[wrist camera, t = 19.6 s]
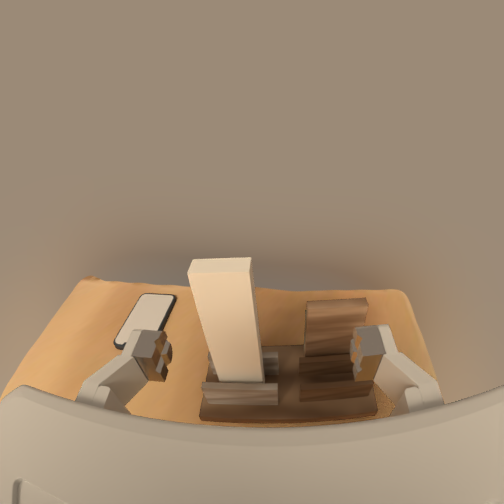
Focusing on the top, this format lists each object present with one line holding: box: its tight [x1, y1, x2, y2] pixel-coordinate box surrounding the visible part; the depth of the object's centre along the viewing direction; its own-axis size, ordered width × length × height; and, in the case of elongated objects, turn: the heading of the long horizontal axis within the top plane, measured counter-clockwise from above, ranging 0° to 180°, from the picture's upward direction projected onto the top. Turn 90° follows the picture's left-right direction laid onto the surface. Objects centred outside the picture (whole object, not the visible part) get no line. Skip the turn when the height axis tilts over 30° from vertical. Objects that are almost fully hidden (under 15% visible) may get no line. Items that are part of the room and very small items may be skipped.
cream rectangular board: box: [187, 257, 265, 383], centre depth 35 cm, size 2×6×22 cm, turn 86°
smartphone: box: [114, 293, 176, 350], centre depth 56 cm, size 9×2×16 cm
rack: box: [199, 345, 378, 423], centre depth 40 cm, size 14×25×6 cm, turn 86°
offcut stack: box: [304, 298, 368, 357], centre depth 41 cm, size 3×8×12 cm, turn 86°
